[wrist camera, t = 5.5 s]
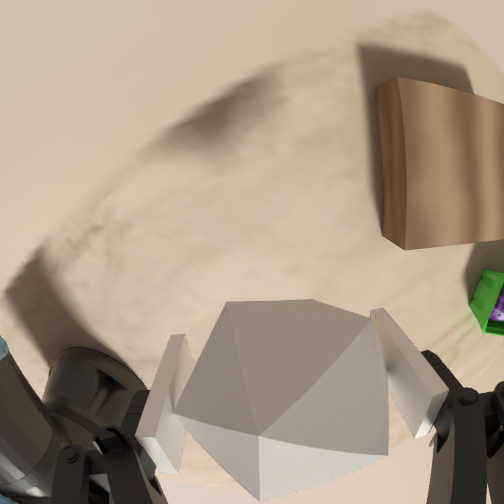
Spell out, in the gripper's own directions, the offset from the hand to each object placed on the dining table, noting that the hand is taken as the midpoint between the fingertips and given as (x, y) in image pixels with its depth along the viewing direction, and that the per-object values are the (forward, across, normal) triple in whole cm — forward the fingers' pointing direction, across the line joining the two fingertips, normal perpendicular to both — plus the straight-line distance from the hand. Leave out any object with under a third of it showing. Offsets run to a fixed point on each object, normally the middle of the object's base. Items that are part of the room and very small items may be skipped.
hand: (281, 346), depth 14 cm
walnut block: (+13, +19, +8) cm, 24 cm away
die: (0, 0, 0) cm, 0 cm away
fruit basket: (+12, +31, -8) cm, 34 cm away
